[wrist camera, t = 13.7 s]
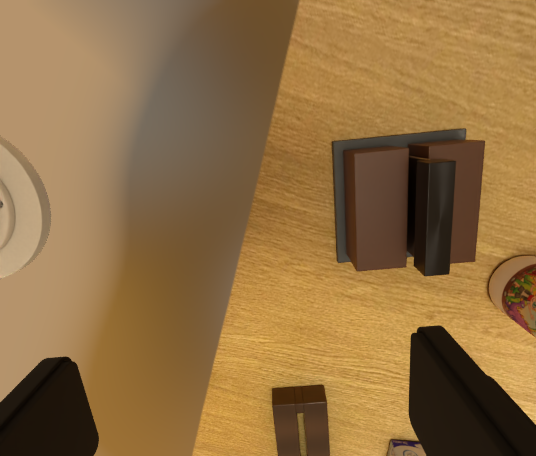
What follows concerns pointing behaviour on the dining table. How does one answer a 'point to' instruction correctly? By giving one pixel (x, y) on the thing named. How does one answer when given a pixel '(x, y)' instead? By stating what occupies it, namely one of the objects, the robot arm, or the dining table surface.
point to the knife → (430, 213)
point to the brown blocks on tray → (399, 195)
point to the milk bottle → (516, 291)
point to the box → (405, 448)
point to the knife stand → (315, 420)
